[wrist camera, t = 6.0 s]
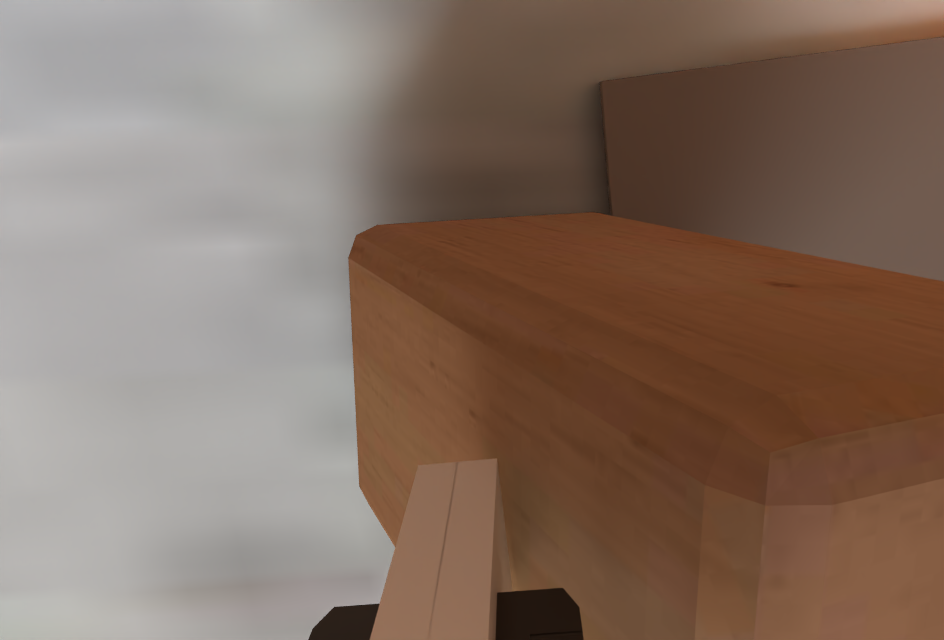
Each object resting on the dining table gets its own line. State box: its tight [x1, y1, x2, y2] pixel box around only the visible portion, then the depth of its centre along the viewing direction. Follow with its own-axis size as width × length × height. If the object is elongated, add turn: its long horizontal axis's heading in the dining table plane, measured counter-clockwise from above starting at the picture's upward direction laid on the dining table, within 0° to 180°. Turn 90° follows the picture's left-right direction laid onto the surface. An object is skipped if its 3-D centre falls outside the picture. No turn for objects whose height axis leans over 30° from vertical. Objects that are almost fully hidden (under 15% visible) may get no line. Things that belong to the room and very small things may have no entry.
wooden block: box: [348, 212, 944, 640], centre depth 21 cm, size 10×10×20 cm
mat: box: [599, 37, 944, 281], centre depth 30 cm, size 16×20×1 cm
